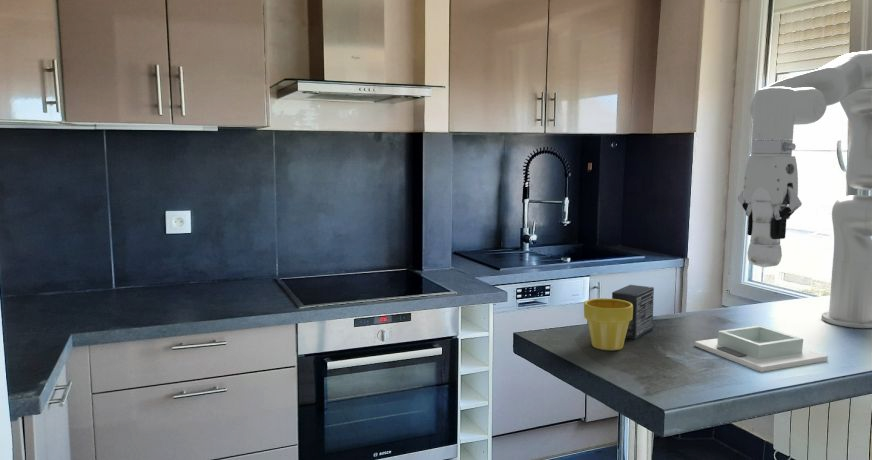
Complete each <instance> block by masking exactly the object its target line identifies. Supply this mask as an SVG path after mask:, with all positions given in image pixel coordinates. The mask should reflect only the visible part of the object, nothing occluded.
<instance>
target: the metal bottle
mask: <svg viewBox="0 0 872 460" xmlns="http://www.w3.org/2000/svg"><path fill="white" fill-rule="evenodd" d="M751 200H752V202H751V204H752V221H753V223H752V234H751V235H750V243H749V244H748V249H747V260H748V262H749V263H750V264H751V265H754V266H757V267H760V268H770V267H775V266H778V265H779V264H780V262H781V260H782V256H783V252H782V245H781V239H772V238H771V232H772V221H773V220H774V219H775V215H774V205H773V204H771V196H770V194H769V192H768V191H767V190H766V189H765V188H763V187H757V188H756V189H755V190H754V191H753V192H752V195H751ZM783 202H784V201H783ZM782 204H783V203H782ZM780 210H781V211H782V207H780Z"/></svg>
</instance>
